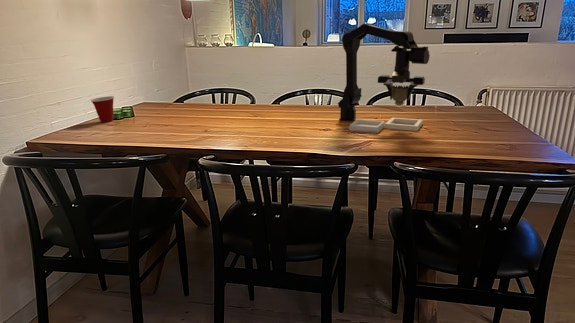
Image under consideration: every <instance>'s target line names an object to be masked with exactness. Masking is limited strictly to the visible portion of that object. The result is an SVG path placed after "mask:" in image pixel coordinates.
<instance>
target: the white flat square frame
mask: <svg viewBox="0 0 575 323" xmlns="http://www.w3.org/2000/svg"><path fill="white" fill-rule="evenodd" d="M422 125H423V119H419V118H418V119H416V118H403V117H391V118H390V119H389V120H388V121H387V122H386V121H385V127H384V129H391V130H401V131H411V132H412V131H415V132H418V130H419V129H420V128H421V127H422Z"/></svg>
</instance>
